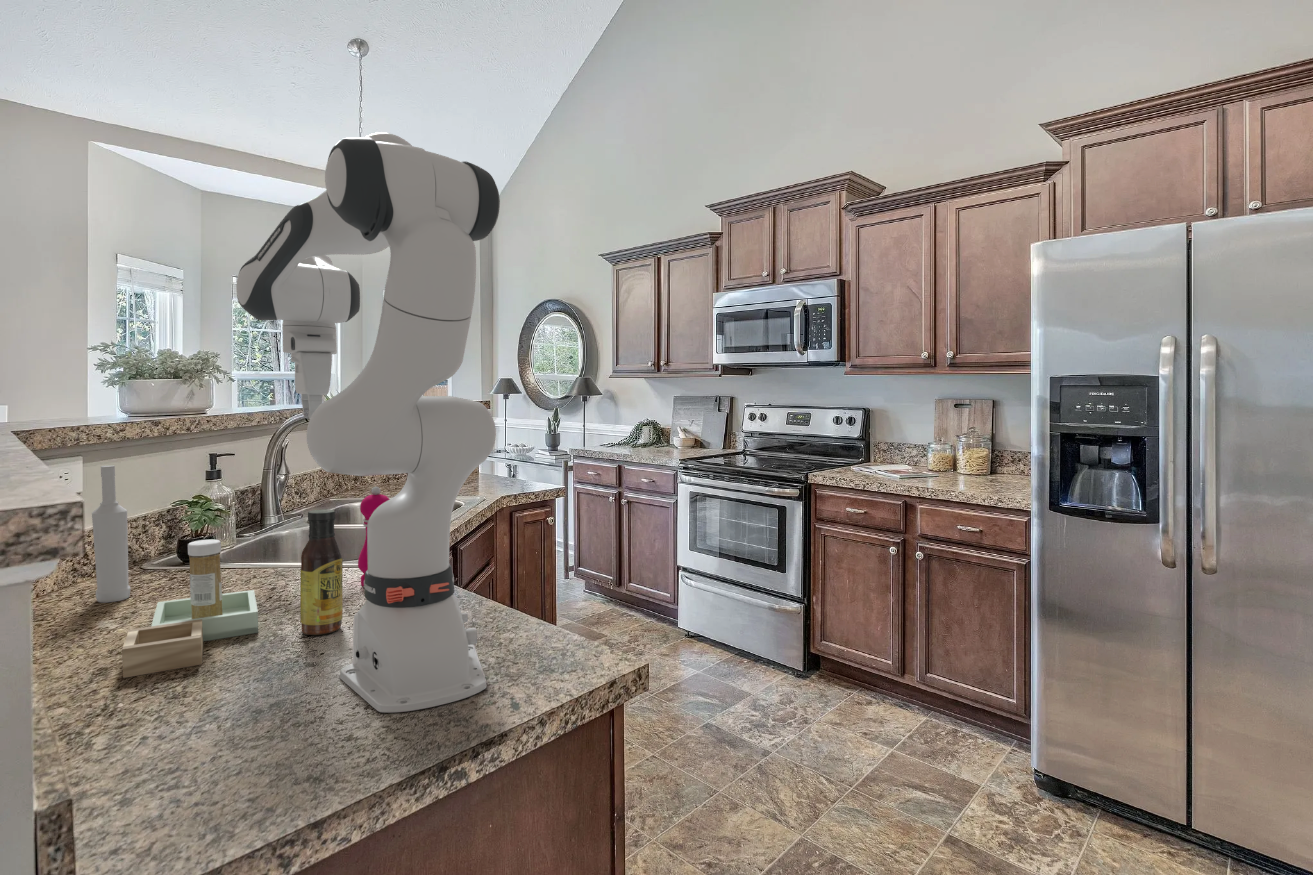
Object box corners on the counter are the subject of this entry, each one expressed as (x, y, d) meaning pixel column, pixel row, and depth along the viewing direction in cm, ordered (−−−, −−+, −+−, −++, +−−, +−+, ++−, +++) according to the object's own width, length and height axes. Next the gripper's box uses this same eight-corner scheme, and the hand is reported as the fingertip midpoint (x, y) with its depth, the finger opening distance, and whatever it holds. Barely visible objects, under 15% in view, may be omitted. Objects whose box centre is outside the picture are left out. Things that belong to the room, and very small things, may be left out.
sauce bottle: (325, 638, 109) (323, 515, 107) (291, 635, 110) (288, 513, 109) (352, 625, 115) (349, 508, 114) (319, 622, 117) (316, 507, 115)
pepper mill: (402, 578, 143) (400, 484, 142) (387, 588, 136) (385, 489, 135) (368, 578, 144) (366, 483, 142) (351, 588, 136) (349, 488, 135)
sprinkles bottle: (229, 616, 116) (226, 538, 115) (211, 626, 111) (209, 544, 110) (202, 616, 116) (199, 538, 115) (183, 625, 111) (180, 544, 110)
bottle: (137, 594, 131) (132, 464, 129) (117, 602, 125) (111, 467, 124) (109, 594, 130) (104, 464, 129) (88, 602, 125) (82, 467, 123)
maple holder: (201, 664, 98) (201, 637, 98) (123, 677, 93) (121, 649, 93) (203, 644, 106) (202, 619, 106) (130, 655, 101) (129, 629, 101)
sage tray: (258, 632, 111) (257, 611, 111) (151, 649, 104) (151, 626, 103) (254, 608, 123) (253, 589, 123) (158, 622, 115) (157, 602, 115)
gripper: (285, 345, 132) (287, 417, 133) (296, 340, 115) (298, 421, 116) (321, 347, 135) (323, 416, 136) (337, 341, 118) (338, 421, 119)
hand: (311, 419), depth 126 cm, fingers open, 8 cm apart
